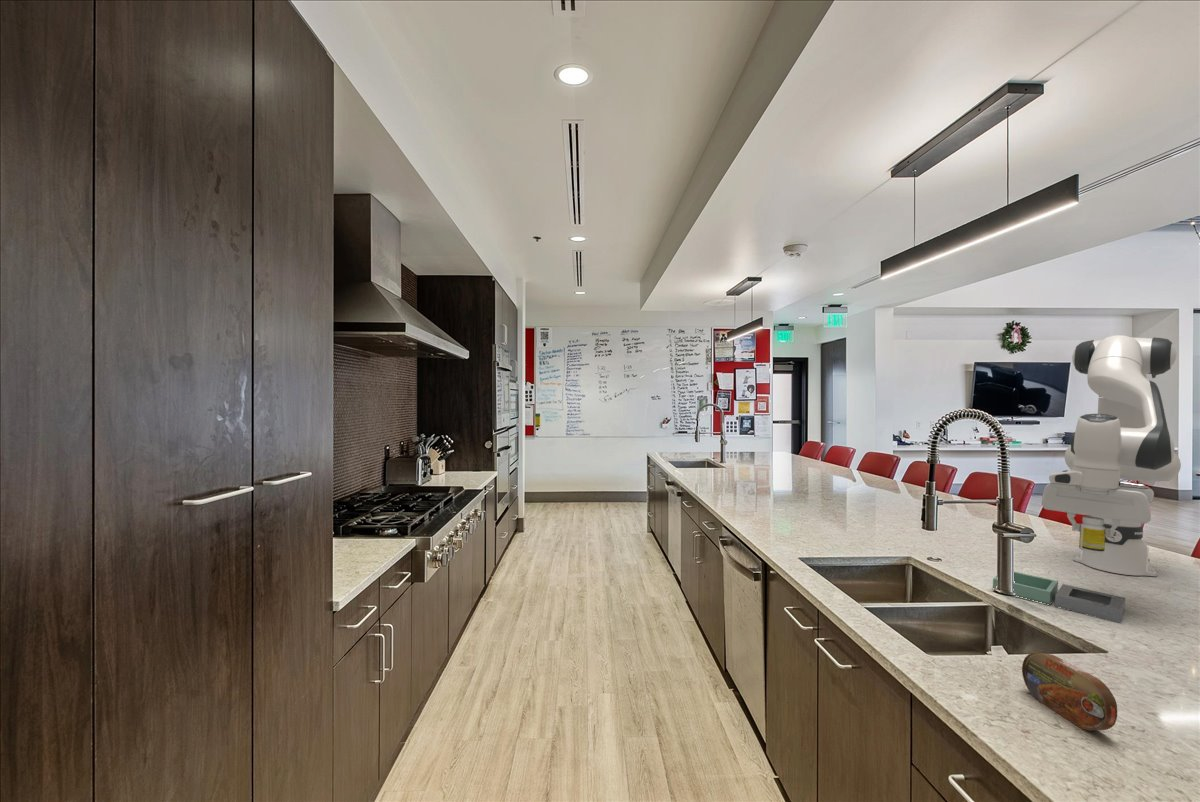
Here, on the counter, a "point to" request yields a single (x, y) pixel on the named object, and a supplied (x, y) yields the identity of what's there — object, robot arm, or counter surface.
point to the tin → (1070, 691)
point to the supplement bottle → (1092, 535)
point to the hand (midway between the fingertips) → (1092, 533)
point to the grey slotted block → (1091, 602)
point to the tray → (1033, 587)
